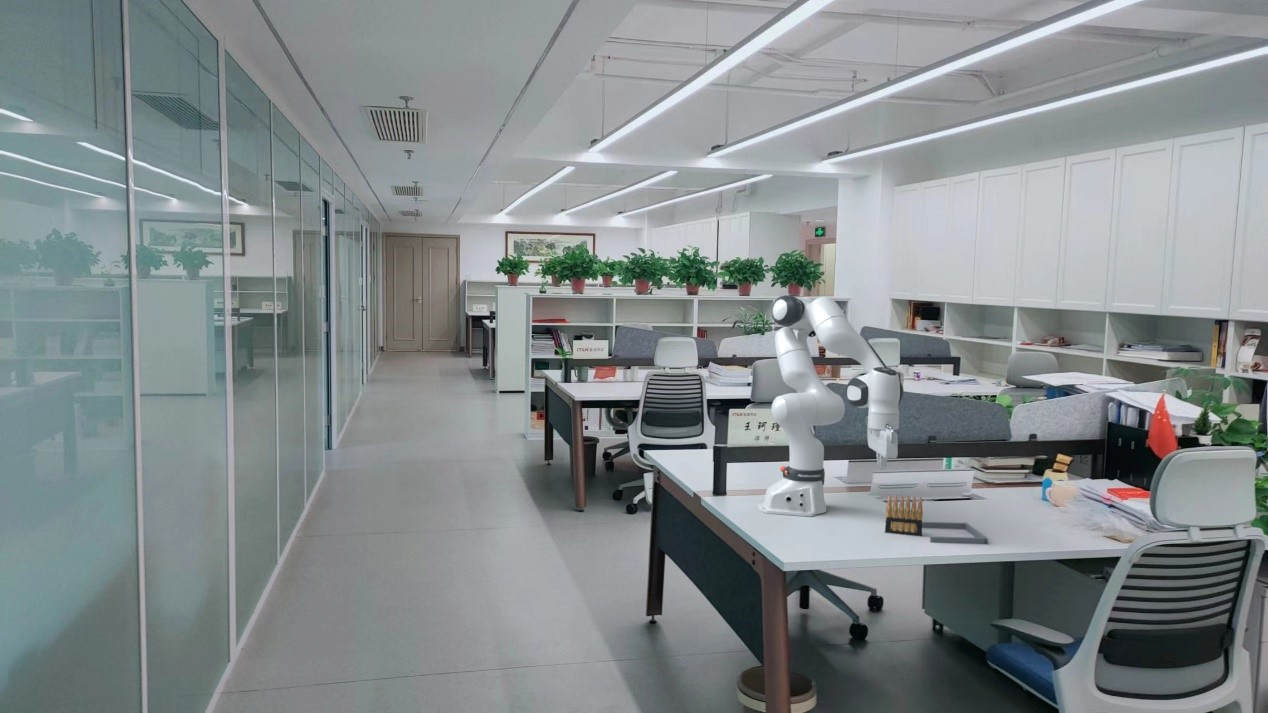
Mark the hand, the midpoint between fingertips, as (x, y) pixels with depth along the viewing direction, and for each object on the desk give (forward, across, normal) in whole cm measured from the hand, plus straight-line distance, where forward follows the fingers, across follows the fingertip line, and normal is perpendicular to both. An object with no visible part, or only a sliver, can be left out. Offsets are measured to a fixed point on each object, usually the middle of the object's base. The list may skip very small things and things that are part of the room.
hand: (881, 468), depth 258 cm
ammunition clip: (+20, 0, -7) cm, 22 cm away
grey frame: (+20, 0, -21) cm, 29 cm away
